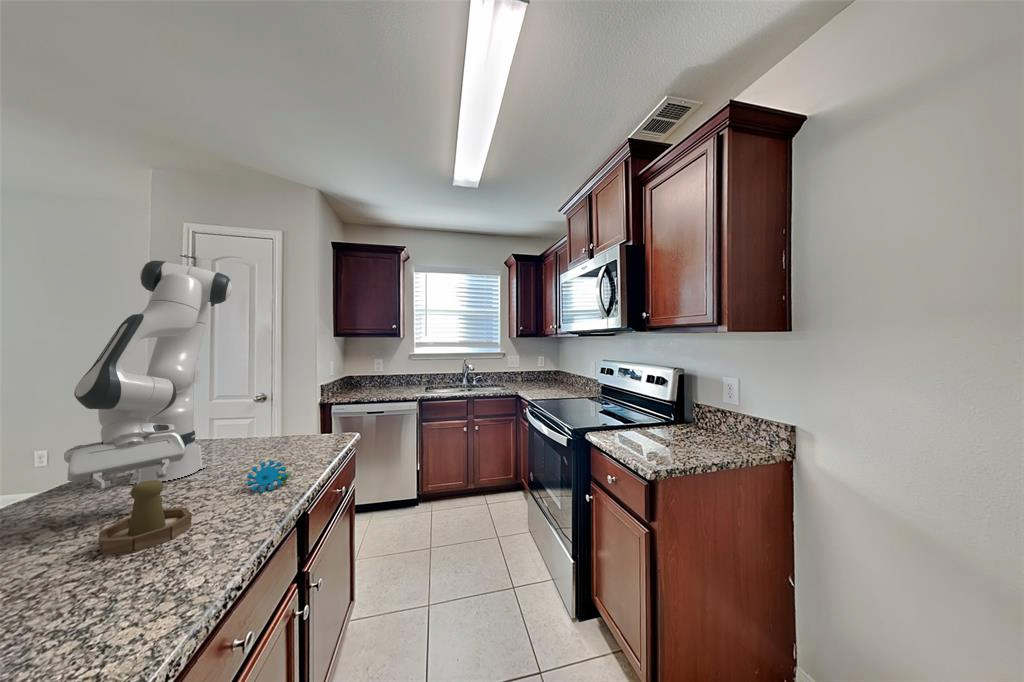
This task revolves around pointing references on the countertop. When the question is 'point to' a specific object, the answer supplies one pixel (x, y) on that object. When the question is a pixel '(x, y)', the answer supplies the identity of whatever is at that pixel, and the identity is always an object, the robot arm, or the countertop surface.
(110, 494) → the countertop surface
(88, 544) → the countertop surface
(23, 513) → the countertop surface
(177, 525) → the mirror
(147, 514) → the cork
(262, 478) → the gear
